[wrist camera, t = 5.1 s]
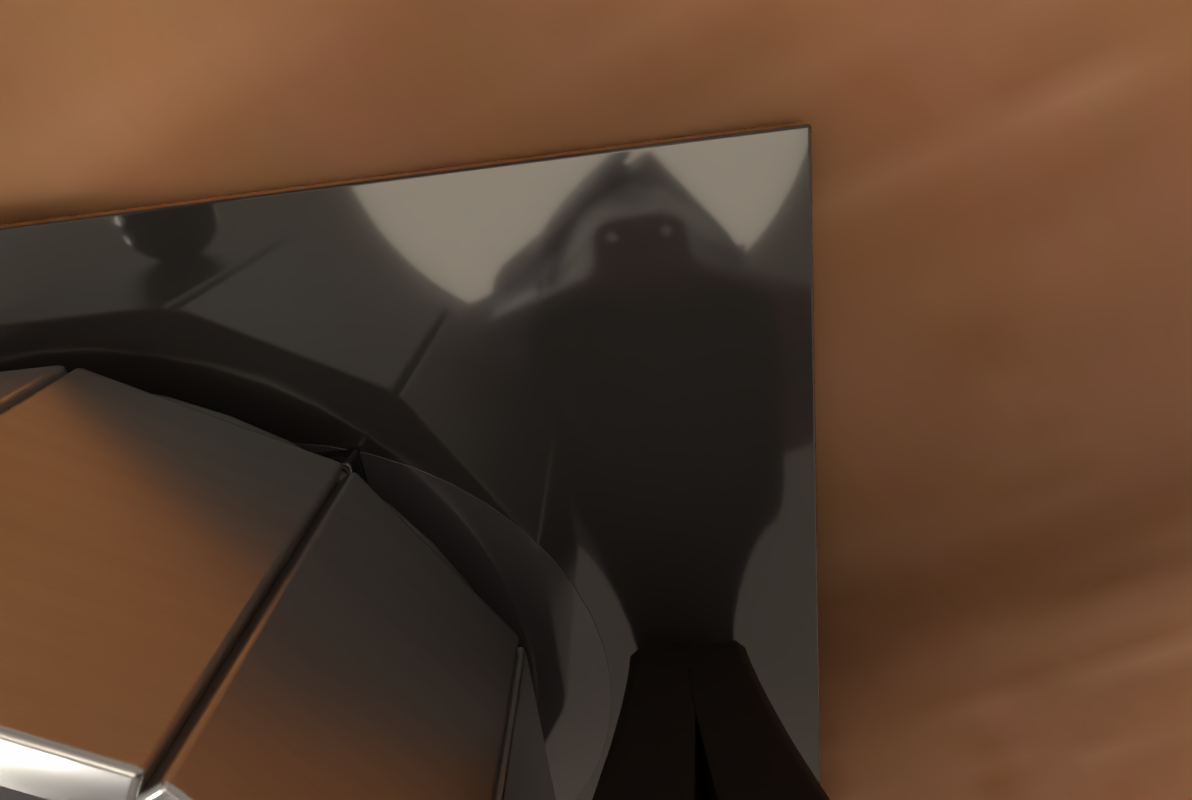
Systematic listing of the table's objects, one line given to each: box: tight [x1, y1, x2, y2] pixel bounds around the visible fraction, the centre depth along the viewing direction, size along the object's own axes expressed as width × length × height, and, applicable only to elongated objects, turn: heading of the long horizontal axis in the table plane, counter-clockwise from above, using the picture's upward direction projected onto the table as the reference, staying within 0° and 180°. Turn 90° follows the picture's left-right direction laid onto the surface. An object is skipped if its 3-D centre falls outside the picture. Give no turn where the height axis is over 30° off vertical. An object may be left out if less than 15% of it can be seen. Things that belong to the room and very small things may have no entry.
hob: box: [0, 122, 821, 800], centre depth 11 cm, size 21×13×1 cm, turn 97°
